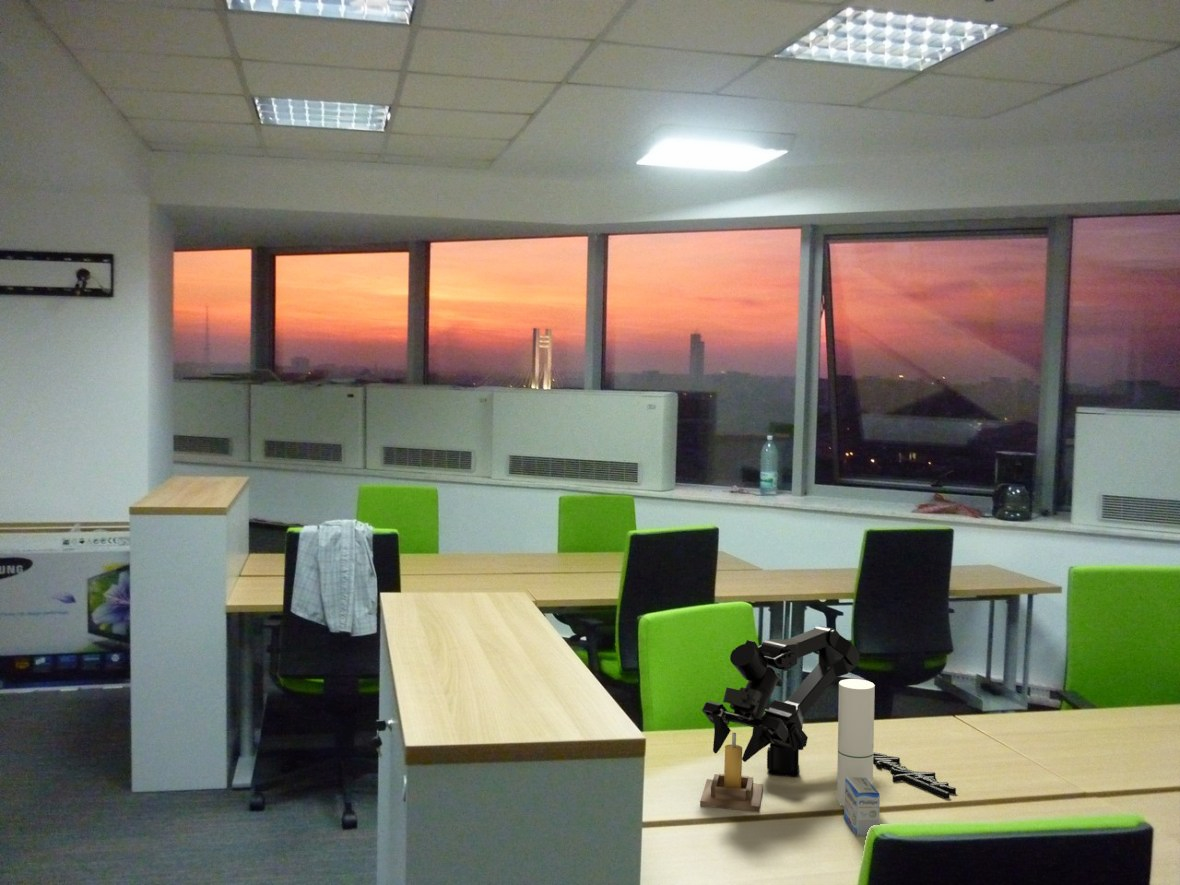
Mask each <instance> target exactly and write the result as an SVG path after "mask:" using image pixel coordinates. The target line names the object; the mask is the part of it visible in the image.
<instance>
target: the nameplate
mask: <svg viewBox="0 0 1180 885" xmlns="http://www.w3.org/2000/svg"><path fill="white" fill-rule="evenodd" d="M900 759H901V757H898V756H891V755H890V756H889V755H888V754H885V753H881V752H880V753H879V752H874V751H873V765H875V768H876V769H878V770H882V769H886V770H888V771H890V774H891V775H892V783H897V782H905V783H907V784H909V785H912V786H914V787H917V788H919V789H921V790H924V791H926V792H929V793H931V794H933V795H935V796H938V797H940V798H942V799H944V800H949V799H950V795H956V794H957V788H956V787H953V786H950V785H949V784H950V783H949V782H941V781H940V782H939V781H937V779H936V772H934V771H933V772H932V771H914V770H912V769H911V770H910V769H908V768H907V767H906V766H904V765H903V766H902V765H900V762H901V760H900Z"/></svg>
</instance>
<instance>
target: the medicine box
mask: <svg viewBox="0 0 1180 885" xmlns="http://www.w3.org/2000/svg"><path fill="white" fill-rule="evenodd" d="M880 796H881V795H880V792H879V791H878V790H877V789H876V788H875V786H874V785H873V786H872V784H871V783H870V782H869V781H868V780H867V779H866V778H863V777H851V778H846V779H845V804H844V807H843V810H844V811H843V812H844V813H843V819H844V820H845V822H846V823H847V825H848V826H849V827H850V828H851V829H852V831H853V832H854V834H856V836H857V837H867V836H866V835H867V832H868V830H869V828H870V827H871V826H873V825H878V824H879V825H880V805H881V804H880V803H881V801H880V800H881V797H880Z"/></svg>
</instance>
